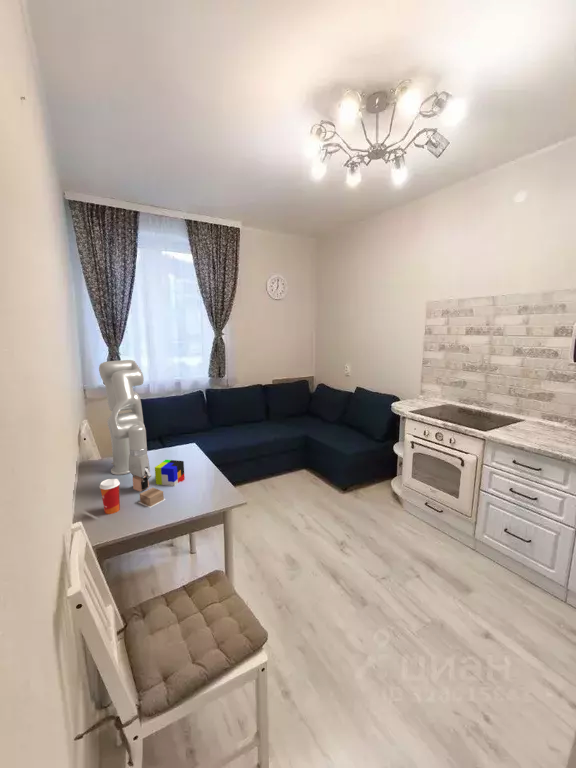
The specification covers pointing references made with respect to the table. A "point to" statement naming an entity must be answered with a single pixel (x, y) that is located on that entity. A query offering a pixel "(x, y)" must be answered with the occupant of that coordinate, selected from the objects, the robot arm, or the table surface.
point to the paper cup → (110, 495)
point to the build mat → (151, 506)
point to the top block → (138, 483)
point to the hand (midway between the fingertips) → (141, 486)
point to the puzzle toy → (169, 472)
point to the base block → (151, 496)
